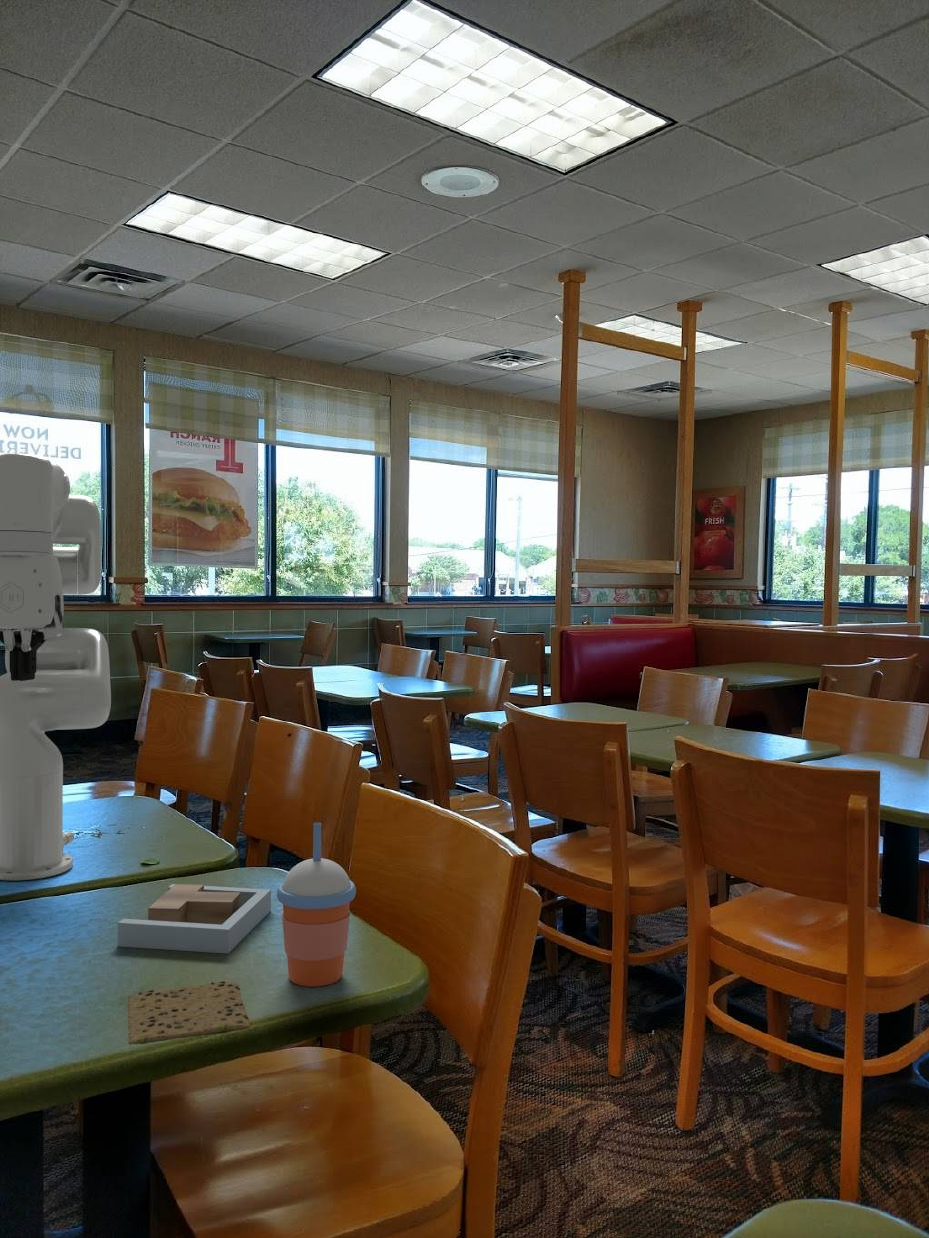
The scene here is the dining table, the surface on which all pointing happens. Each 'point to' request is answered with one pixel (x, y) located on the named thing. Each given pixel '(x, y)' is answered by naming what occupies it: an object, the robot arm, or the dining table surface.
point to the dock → (199, 927)
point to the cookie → (185, 1012)
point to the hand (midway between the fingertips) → (23, 679)
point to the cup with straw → (316, 918)
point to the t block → (194, 905)
